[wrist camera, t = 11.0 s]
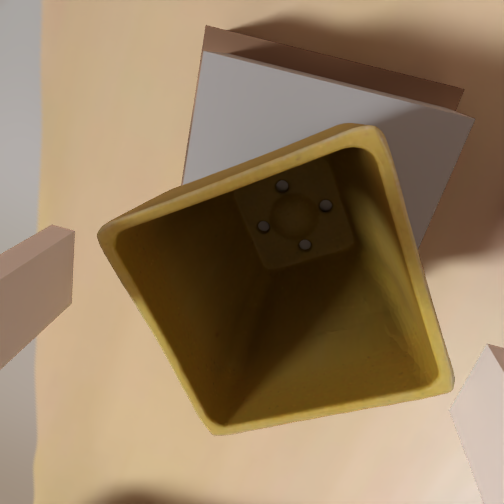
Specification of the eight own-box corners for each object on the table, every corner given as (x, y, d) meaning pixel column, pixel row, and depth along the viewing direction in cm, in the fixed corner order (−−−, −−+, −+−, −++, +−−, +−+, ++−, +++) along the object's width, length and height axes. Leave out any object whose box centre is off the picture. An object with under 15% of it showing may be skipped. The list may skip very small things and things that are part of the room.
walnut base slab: (366, 275, 32) (372, 310, 28) (192, 227, 33) (170, 253, 29) (441, 84, 26) (464, 89, 22) (226, 31, 27) (205, 25, 23)
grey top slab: (369, 296, 27) (377, 341, 23) (193, 247, 28) (167, 282, 24) (445, 107, 22) (475, 119, 18) (227, 53, 23) (203, 50, 18)
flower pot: (409, 268, 21) (461, 397, 13) (249, 311, 23) (209, 442, 15) (356, 93, 18) (381, 117, 10) (181, 164, 21) (88, 229, 13)
